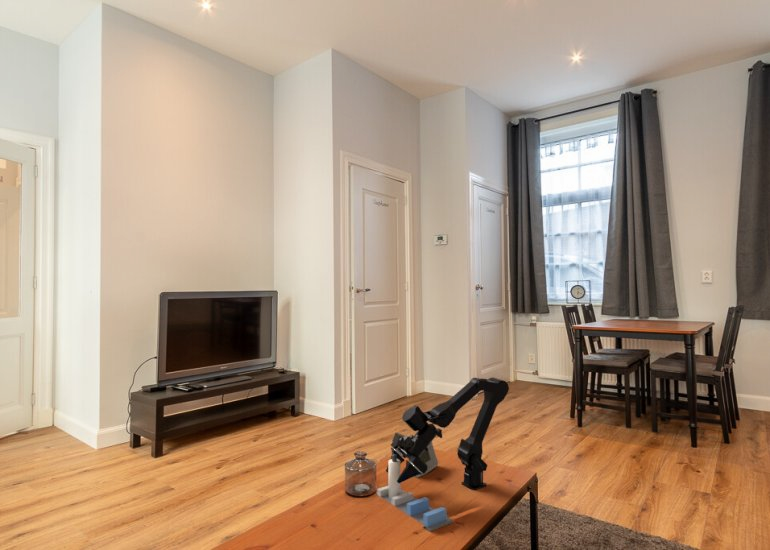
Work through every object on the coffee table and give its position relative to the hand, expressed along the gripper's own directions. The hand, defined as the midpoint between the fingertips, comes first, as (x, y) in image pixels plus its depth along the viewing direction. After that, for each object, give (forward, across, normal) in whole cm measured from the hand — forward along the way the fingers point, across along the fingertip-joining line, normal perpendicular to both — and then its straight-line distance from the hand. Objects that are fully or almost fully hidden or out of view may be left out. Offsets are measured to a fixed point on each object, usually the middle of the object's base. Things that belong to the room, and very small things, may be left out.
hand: (392, 477), depth 156 cm
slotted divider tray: (+3, +8, +8) cm, 11 cm away
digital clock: (-9, -18, +20) cm, 28 cm away
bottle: (+4, 0, +6) cm, 7 cm away
